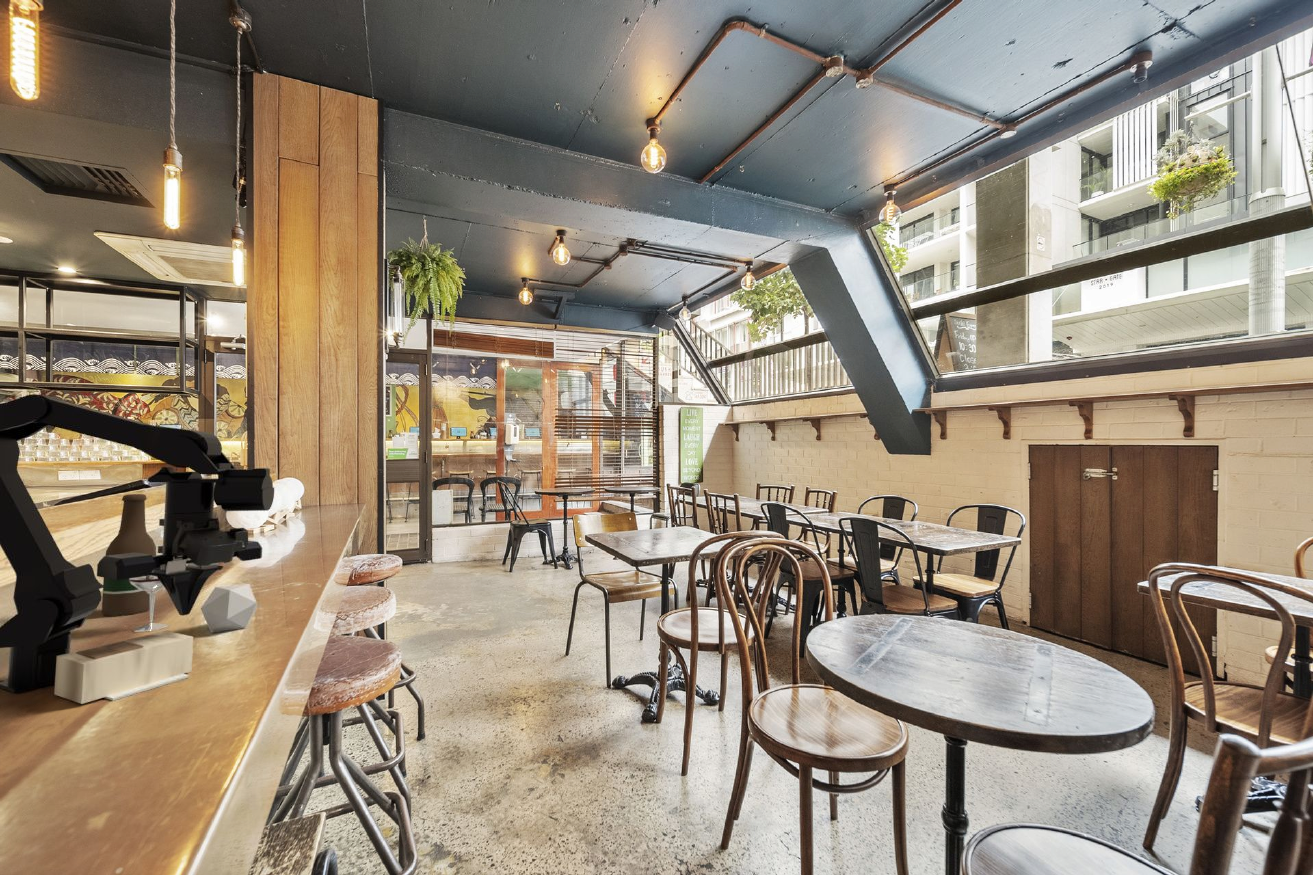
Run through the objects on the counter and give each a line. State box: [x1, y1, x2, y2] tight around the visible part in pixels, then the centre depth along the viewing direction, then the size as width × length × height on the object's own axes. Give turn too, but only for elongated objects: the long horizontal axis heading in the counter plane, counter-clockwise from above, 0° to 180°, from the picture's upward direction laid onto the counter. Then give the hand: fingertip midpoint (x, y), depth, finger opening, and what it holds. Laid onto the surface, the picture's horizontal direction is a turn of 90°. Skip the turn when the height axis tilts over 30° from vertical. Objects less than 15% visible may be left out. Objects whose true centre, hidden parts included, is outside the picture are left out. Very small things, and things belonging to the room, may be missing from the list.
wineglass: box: [129, 575, 169, 633], centre depth 102 cm, size 7×7×12 cm
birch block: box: [54, 630, 194, 705], centre depth 76 cm, size 7×5×12 cm
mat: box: [103, 673, 190, 702], centre depth 77 cm, size 10×8×1 cm
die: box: [200, 583, 259, 633], centre depth 102 cm, size 8×9×10 cm
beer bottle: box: [101, 493, 157, 617], centre depth 112 cm, size 8×8×24 cm
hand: (184, 614), depth 83 cm, fingers closed
